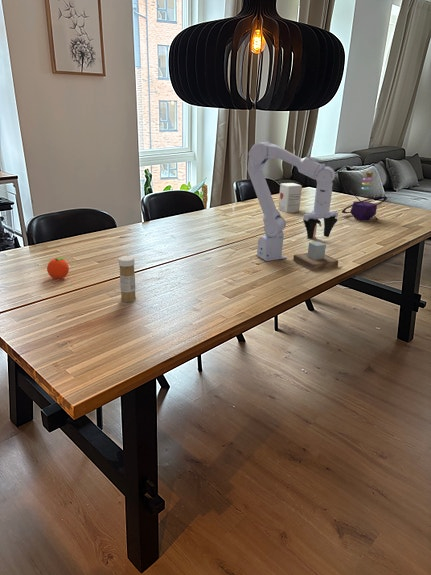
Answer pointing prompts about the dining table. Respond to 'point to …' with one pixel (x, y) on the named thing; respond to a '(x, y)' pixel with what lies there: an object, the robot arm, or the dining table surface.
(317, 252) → the grey block
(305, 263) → the walnut block
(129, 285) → the sprinkles bottle
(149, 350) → the dining table surface
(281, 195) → the supplement box
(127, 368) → the dining table surface
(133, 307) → the dining table surface
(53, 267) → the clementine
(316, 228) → the grandmother figurine
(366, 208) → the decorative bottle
